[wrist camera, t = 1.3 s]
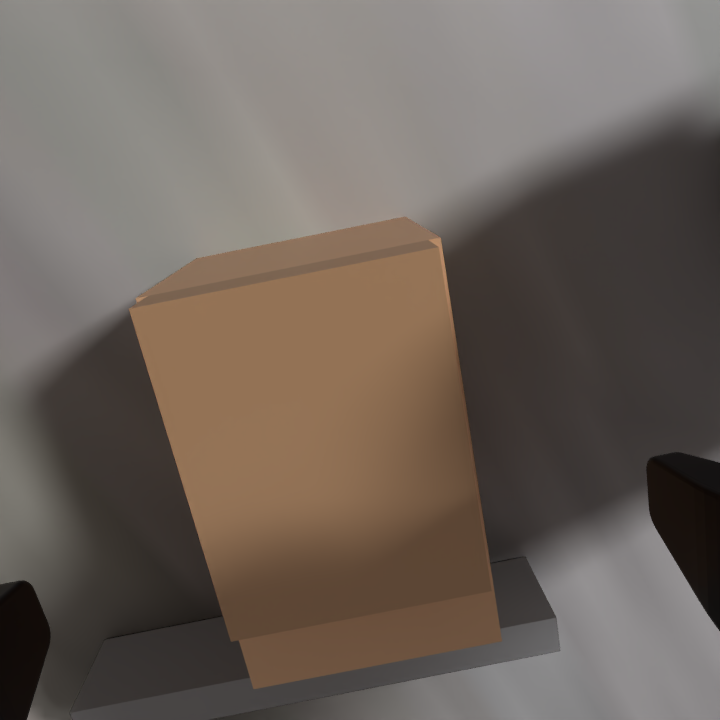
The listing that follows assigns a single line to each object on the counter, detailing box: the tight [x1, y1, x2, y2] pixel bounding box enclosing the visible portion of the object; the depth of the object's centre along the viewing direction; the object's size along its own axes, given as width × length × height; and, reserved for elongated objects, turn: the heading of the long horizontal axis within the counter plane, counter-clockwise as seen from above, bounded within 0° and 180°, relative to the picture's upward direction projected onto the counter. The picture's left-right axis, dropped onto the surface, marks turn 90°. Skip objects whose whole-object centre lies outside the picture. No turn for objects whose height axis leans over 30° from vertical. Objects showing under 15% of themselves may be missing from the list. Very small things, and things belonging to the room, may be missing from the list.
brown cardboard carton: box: [129, 217, 502, 689], centre depth 13 cm, size 5×8×6 cm, turn 11°
